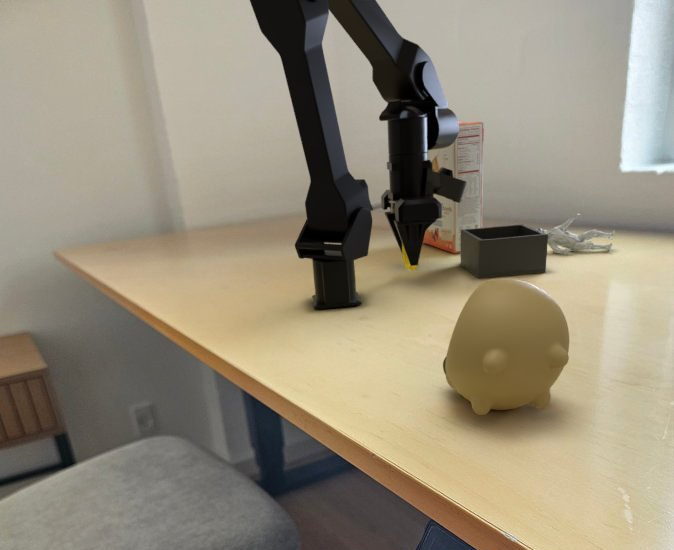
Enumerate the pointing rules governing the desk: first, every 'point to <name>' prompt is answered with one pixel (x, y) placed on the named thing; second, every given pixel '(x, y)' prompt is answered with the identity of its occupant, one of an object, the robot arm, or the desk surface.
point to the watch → (407, 261)
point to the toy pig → (507, 346)
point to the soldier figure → (574, 238)
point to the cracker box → (467, 167)
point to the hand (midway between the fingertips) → (410, 261)
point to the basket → (503, 251)
